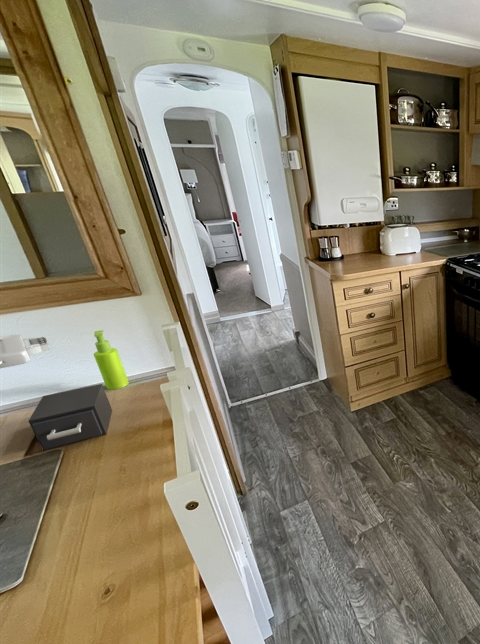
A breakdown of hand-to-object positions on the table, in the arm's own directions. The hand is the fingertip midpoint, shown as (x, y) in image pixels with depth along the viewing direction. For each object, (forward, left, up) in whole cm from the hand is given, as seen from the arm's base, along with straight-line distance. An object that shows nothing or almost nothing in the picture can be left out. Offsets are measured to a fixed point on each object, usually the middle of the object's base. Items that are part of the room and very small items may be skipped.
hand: (47, 342), depth 117 cm
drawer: (+5, -28, -19) cm, 34 cm away
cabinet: (+5, -24, -20) cm, 32 cm away
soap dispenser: (+11, +3, -20) cm, 23 cm away
